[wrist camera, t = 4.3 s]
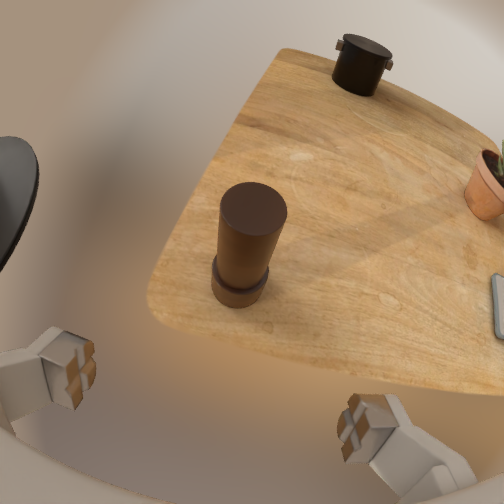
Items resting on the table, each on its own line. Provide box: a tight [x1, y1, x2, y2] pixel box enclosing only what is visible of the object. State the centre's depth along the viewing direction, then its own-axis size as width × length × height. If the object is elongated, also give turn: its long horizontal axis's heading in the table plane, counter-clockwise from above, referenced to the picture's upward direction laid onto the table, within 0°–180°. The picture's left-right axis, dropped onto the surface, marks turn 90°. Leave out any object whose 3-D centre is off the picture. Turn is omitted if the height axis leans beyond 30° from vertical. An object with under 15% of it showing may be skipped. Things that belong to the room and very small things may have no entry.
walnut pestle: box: [212, 182, 287, 308], centre depth 19 cm, size 4×4×10 cm
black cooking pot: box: [332, 34, 393, 96], centre depth 40 cm, size 10×9×9 cm
